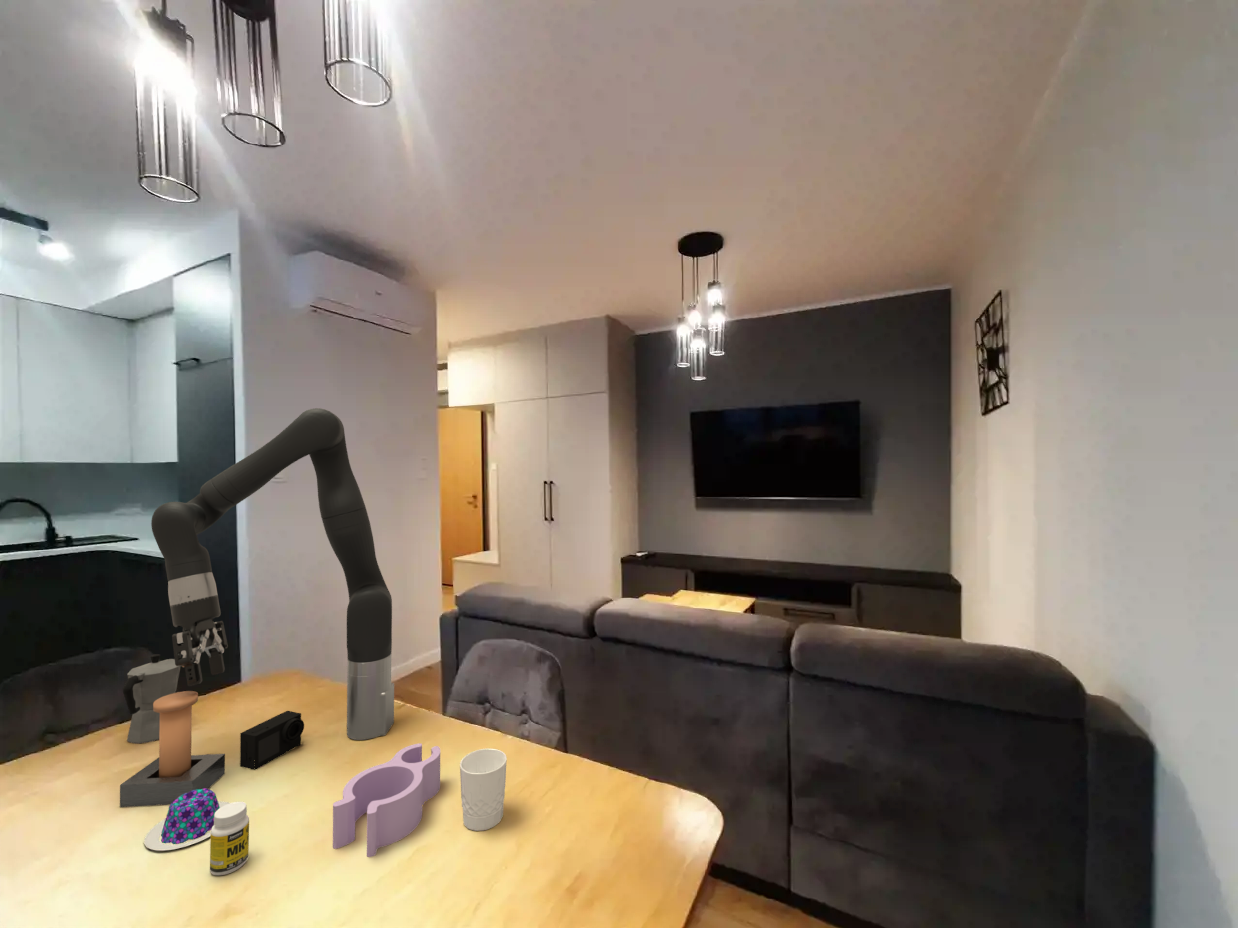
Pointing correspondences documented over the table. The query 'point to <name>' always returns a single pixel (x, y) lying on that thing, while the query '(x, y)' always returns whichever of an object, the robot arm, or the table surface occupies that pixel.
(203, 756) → the frame
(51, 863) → the table surface
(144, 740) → the coffeepot
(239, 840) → the supplement bottle
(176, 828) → the pudding
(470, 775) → the white cup
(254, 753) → the digital camera
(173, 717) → the orange capped cylinder
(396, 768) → the clip
